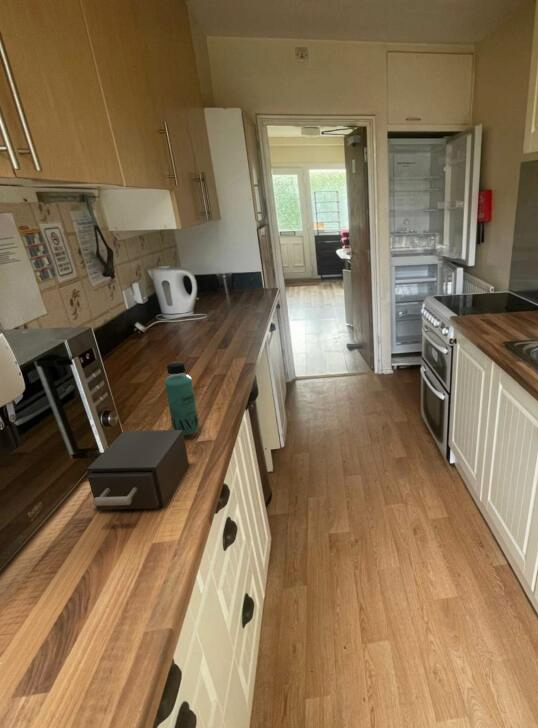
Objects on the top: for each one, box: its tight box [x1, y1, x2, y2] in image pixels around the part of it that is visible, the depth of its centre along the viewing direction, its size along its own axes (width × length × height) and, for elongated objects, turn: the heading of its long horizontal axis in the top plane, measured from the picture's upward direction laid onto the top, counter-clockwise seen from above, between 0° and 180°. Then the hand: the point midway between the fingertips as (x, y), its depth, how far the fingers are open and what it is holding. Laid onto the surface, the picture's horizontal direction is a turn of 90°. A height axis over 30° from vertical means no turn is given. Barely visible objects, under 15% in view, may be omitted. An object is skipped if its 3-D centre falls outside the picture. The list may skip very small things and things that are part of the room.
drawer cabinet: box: [86, 429, 190, 508], centre depth 90 cm, size 15×13×10 cm
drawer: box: [87, 471, 160, 511], centre depth 87 cm, size 18×11×8 cm, turn 4°
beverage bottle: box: [164, 361, 200, 436], centre depth 108 cm, size 6×7×20 cm
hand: (7, 448), depth 65 cm, fingers closed
